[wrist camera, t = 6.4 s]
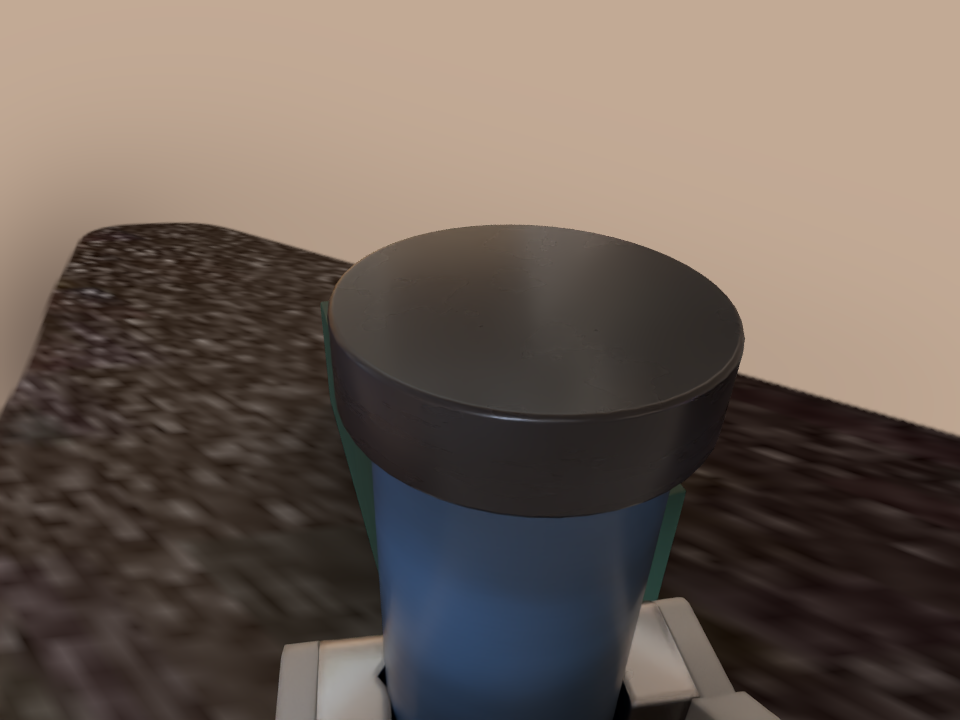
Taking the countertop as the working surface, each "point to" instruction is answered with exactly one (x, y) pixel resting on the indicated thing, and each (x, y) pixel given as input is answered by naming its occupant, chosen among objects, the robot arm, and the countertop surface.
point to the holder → (364, 490)
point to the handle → (523, 453)
